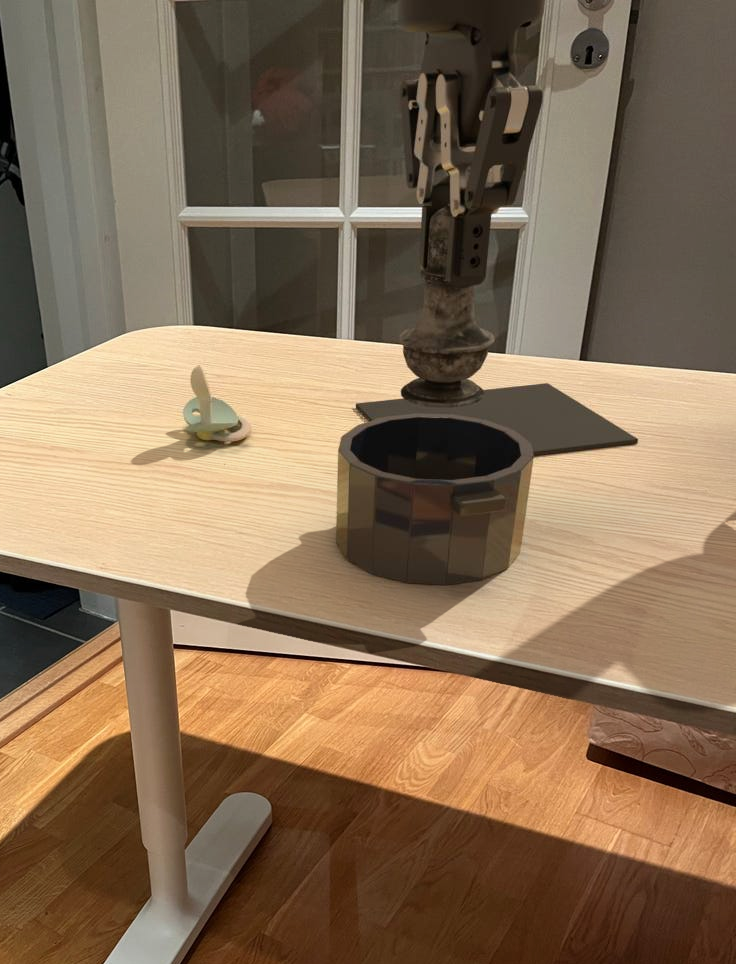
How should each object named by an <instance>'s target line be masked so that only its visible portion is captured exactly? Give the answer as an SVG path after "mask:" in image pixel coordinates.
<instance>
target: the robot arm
mask: <svg viewBox="0 0 736 964" xmlns="http://www.w3.org/2000/svg"><path fill="white" fill-rule="evenodd" d="M397 1H398V2H397V23H398V26H399V28H400V29H401V30H402V31H403V32H405V33H425V43H424V50H423V55H422V60H421V64H420V75H419V76H418V78H416V79H409V80H406V79H405V80H402V81H401V84H400V88H399V99H400V100H399V101H400V113H401V115H400V116H401V127H402V139H403V140H402V141H403V152H404V153H403V154H404V165H405V166H404V168H405V181H406V186H407V188H408V189H409V190H411V189H412V190H413V189H416V195H415V196H416V200H417V203H418V204H419V205H422V206H421V220H420V221H421V222H420V237H419V238H420V239H419V258H418V265H419V268H420V269H421V271H422V270H424V269H425V268H427V261H428V245H429V229H430V221H431V218H432V216H433V215H434V214H435V213H436V212H437V211H438V210H440V209H441V208H444V207H447V206H448V204H450V209H451V214H452V216H450V221H449V235H448V249H447V263H446V281H447V282H448V283H449V284H451V285H453V286H455V287H462V286H472V285H476V286H479V285H481V284H482V283H483V282H484V281H485V280H486V277H487V266H488V257H489V247H490V246H489V244H490V234H491V224H492V222H491V221H492V215H494V214H495V215H496V214H497V213H498V212H499V209H500V208H502V207H508V206H513V205H514V203H515V201H516V199H517V194H518V191H519V187H520V184H521V180H522V176H523V173H524V169H525V167H526V166H525V165H526V162H527V160H528V159H527V158H528V155H529V152H530V148H531V145H532V141H533V137H534V134H535V130H536V126H537V123H538V119H539V116H540V113H541V109H542V106H543V99H544V93H543V89H542V86H541V85H538V84H536V85H535V84H534V85H521V84H520V82H519V81H518V80H517V79H516V77H517V70H518V66H517V65H518V64H517V57H516V55H517V54H516V37H515V36H516V32H517V30H518V29H519V28H521V29H522V28H532V27H535V26H537V25H538V24H539V23H541V21H542V20H543V17H544V15H545V8H546V7H545V5H546V0H397ZM503 166H504V167H503ZM502 167H503V171H502V175H501V168H502ZM468 171H469V173H468Z"/></svg>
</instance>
